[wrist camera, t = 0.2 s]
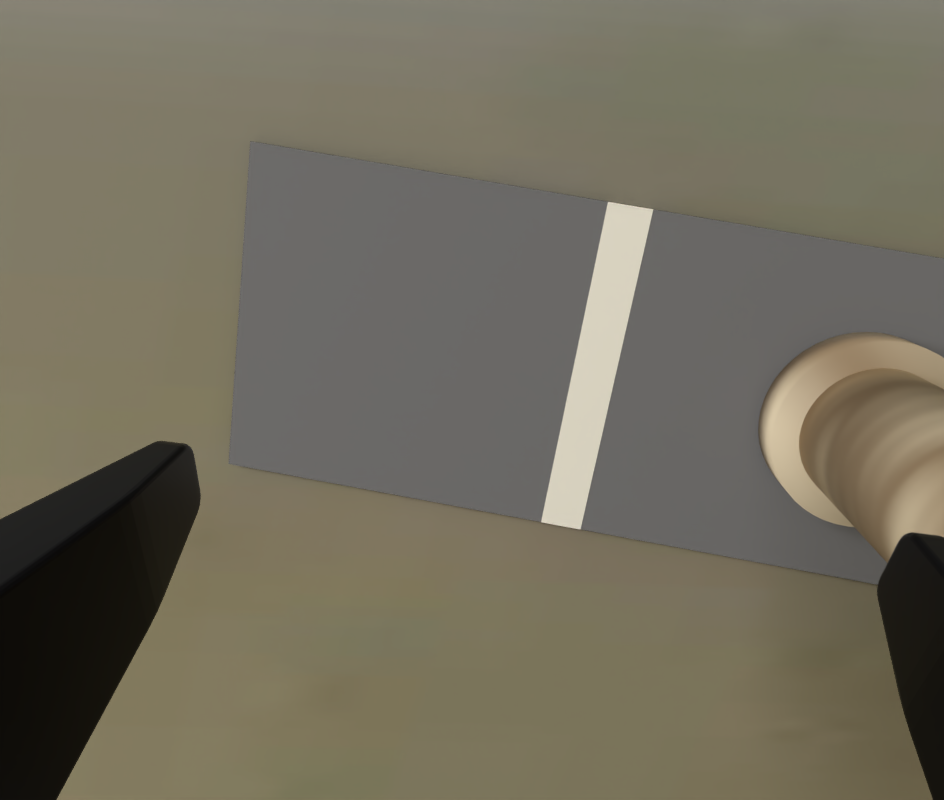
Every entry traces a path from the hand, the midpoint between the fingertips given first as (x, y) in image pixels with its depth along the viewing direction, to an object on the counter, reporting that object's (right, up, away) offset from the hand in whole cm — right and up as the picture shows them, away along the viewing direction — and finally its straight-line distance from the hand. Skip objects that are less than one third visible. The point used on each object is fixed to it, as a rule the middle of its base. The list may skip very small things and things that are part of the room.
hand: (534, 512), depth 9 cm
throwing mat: (+3, +2, +15) cm, 16 cm away
